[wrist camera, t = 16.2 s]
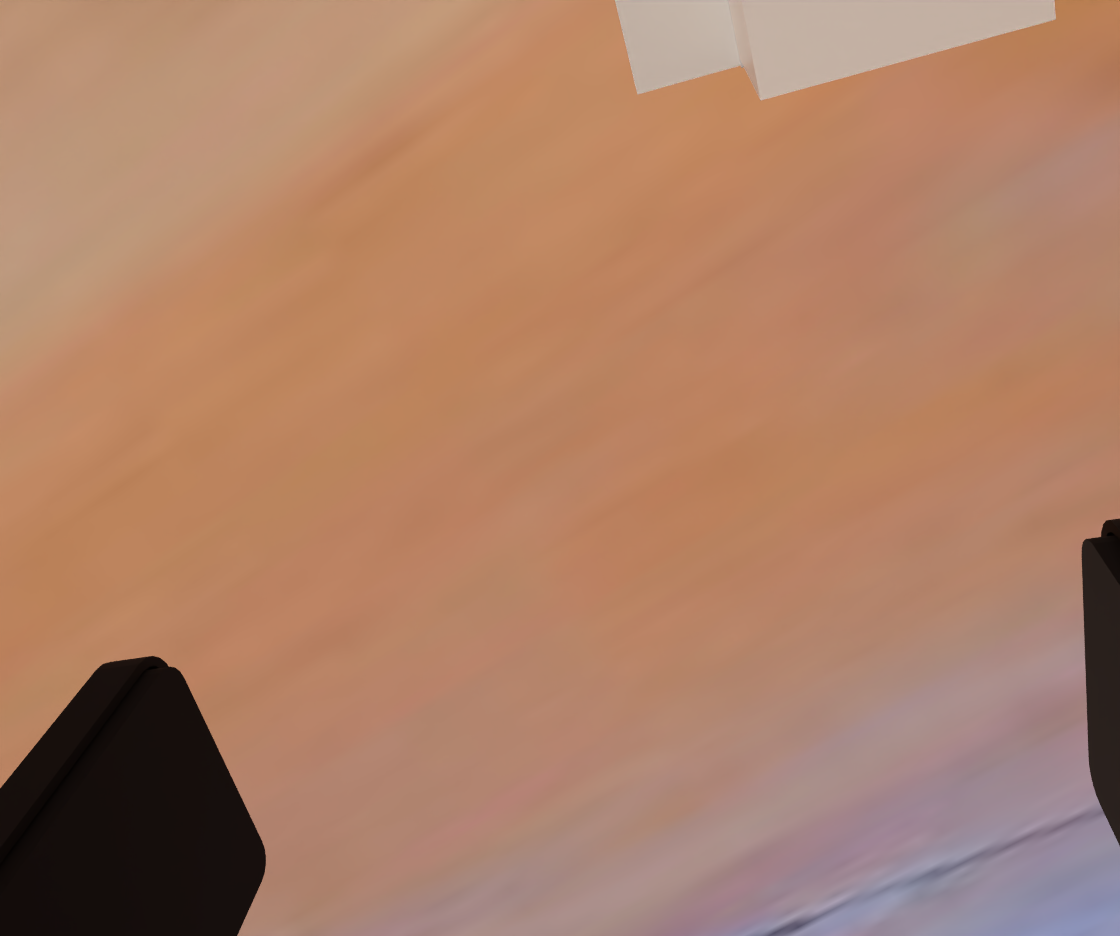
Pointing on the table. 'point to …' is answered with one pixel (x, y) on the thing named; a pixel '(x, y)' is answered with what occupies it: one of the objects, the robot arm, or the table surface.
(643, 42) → the rail board
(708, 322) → the table surface
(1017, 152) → the table surface
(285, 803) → the table surface
